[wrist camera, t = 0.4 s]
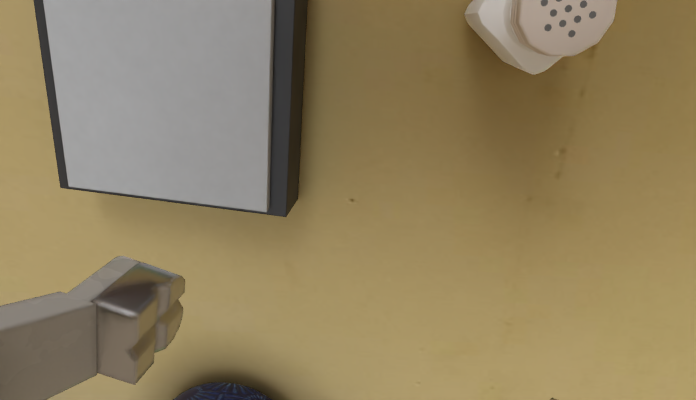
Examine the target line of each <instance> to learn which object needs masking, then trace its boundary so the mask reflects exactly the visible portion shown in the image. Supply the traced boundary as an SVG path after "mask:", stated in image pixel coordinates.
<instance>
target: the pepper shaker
mask: <svg viewBox="0 0 696 400" xmlns="http://www.w3.org/2000/svg"><path fill="white" fill-rule="evenodd" d="M616 4H617V0H473V1H472V2H471V3H470V4H469V5H468V7H467V9H466V11H465V14H464V15H465V18H466V21H467V23H468V24H469V25H470V27H471V28H472V29H473V30H474V31H475V32H476V33H477V34H478V35H479V36H480V37H481V38H482V40H483V41H484V42H485V43H486V44H487V45H488V46H489V47H490V48H491V49H492V50H493V51H494V53H495V54H496V55H497V56H498V57H499V58H500V59H501V60H502V61H503V62H505V63H507V64H509V65H512V66H514V67H516V68H518V69H521V70H523V71H525V72H528V73H530V74H533V75H535V74H538V73H541V72H544V71H546V70H547V69H548V68H549V67H551V66H552V65H553V64H554V63H556V62H557V61H558V60H559V59H560V58H562V57H563V56H575V55H577V54H579V53H580V52H582V51H584V50H586V49H588V48H590V47H591V46H593V45H595V44H597V43H598V42H599V40H600V39H601V38H602V36H603V35H604V34H605V32H606V31H607V29H608V28H609V27H610V25H611V24H612V22H613V21H614V17H615V11H616Z"/></svg>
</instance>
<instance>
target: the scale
mask: <svg viewBox="0 0 696 400" xmlns="http://www.w3.org/2000/svg"><path fill="white" fill-rule="evenodd" d="M307 1H308V0H34V6H35V13H36V20H37V27H38V34H39V41H40V48H41V55H42V62H43V69H44V76H45V83H46V90H47V97H48V104H49V111H50V118H51V125H52V132H53V139H54V146H55V153H56V160H57V167H58V174H59V181H60V187H61V188H66V189H74V190H82V191H89V192H97V193H105V194H113V195H120V196H128V197H136V198H143V199H151V200H159V201H167V202H174V203H182V204H190V205H198V206H205V207H213V208H221V209H228V210H236V211H244V212H252V213H259V214H267V215H275V216H283V217H286V216H287V215H288V213H289V212H290V210H291V209H292V207H293V206H294V204H295V202H296V201H297V199H298V184H299V163H300V143H301V123H302V102H303V82H304V62H305V41H306V21H307Z"/></svg>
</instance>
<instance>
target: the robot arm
mask: <svg viewBox="0 0 696 400" xmlns="http://www.w3.org/2000/svg"><path fill="white" fill-rule="evenodd" d="M184 292H185V279H184V278H183V277H182V276H180V275H177V274H174V273H171V272H168V271H166V270H163V269H160V268H157V267H154V266H151V265H149V264H146V263H141V262H139V261H136V260H133V259H131V258H128V257H125V256H119V257H115V258H114V259H113V260H111V261H110V262H109V263H107V264H106V265H105V266H103V267H102V268H101V269H99V270H98V271H96V272H95V273H94V274H92V275H91V276H90V277H88V278H87V279H86V280H84V281H83V282H82V283H80V284H79V285H78V286H76V287H75V288H73V289H72V290H71V291H69V292H68V293H67V294H66V293H63V292H56V293H52V294H48V295H44V296H40V297H35V298H31V299H27V300H23V301H19V302H15V303H10V304H6V305H2V306H0V400H46V399H48V398H50V397H52V396H54V395H56V394H58V393H60V392H63V391H65V390H67V389H69V388H71V387H73V386H75V385H77V384H79V383H81V382H83V381H85V380H87V379H89V378H92V377H94V376H96V375H97V373H99V374H103V375H106V376H109V377H112V378H115V379H118V380H121V381H124V382H127V383H130V384H133V385H135V384H136V383H137V382H138V381H139V379H140V378H141V377H142V376H143V375H144V374H145V372H146V371H147V370H148V369H149V368H150V367H151V365H152V364H153V363H154V353H155V352H158V351H161V350H163V349H166V348H167V346H168V345H169V344H170V343H171V341H172V340H173V339H174V337H175V335H176V333H177V331H178V329H179V327H180V323H181V320H182V315H183V307H182V305H181V303H180V302H179V300H178V299H179V298H180V297H181V296H182V295H183V293H184ZM550 400H557V399H554V398H551V399H550Z"/></svg>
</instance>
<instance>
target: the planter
mask: <svg viewBox="0 0 696 400" xmlns="http://www.w3.org/2000/svg"><path fill="white" fill-rule="evenodd" d="M173 400H272V399H270V398H269V397H267V396H266V395H264V394H262V393H261V392H259V391H256V390H254V389H252V388H249V387H246V386H243V385H239V384H234V383H226V382H215V383H207V384H202V385H199V386H196V387H193V388H190V389H189V390H187V391H185V392H183V393H181V394H180V395H178V396H177V397H176V398H175V399H173Z"/></svg>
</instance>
